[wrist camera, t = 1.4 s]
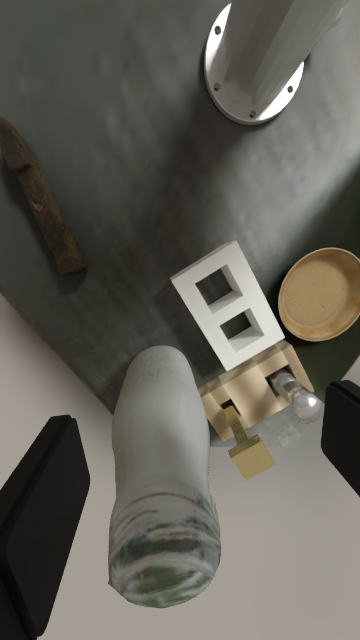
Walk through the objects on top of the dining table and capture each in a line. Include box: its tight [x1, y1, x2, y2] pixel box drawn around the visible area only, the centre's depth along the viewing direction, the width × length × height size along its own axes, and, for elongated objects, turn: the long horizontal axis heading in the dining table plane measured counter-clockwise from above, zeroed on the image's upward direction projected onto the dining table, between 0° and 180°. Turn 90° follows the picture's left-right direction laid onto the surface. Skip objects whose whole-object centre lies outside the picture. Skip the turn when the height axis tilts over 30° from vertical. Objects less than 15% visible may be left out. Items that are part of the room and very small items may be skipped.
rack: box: [170, 240, 285, 371], centre depth 35 cm, size 10×16×5 cm, turn 31°
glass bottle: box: [108, 345, 221, 608], centre depth 26 cm, size 10×10×28 cm
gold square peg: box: [224, 405, 275, 480], centre depth 34 cm, size 4×4×9 cm
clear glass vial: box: [265, 367, 324, 423], centre depth 36 cm, size 4×4×11 cm
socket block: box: [197, 339, 314, 442], centre depth 40 cm, size 18×10×3 cm, turn 121°
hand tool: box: [0, 117, 88, 275], centre depth 30 cm, size 19×4×5 cm, turn 16°
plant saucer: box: [278, 248, 360, 341], centre depth 38 cm, size 15×15×3 cm
